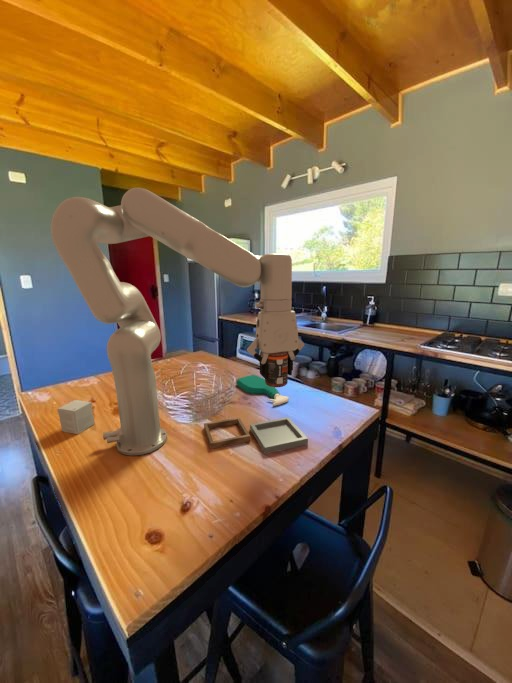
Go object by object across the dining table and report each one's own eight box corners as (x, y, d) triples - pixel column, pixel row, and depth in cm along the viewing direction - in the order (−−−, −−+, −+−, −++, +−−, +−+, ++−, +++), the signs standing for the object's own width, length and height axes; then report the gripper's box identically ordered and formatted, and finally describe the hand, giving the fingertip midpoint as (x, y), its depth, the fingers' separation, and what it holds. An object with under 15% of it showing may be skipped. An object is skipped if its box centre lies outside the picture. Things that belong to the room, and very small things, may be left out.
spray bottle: (256, 380, 122) (295, 402, 102) (233, 385, 116) (271, 410, 96) (256, 373, 121) (296, 394, 101) (233, 379, 115) (271, 402, 95)
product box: (95, 424, 87) (91, 401, 85) (77, 435, 81) (73, 411, 79) (79, 421, 89) (75, 399, 87) (61, 431, 83) (56, 408, 81)
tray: (264, 454, 72) (265, 447, 72) (250, 429, 83) (250, 424, 83) (307, 444, 76) (308, 438, 75) (288, 422, 87) (288, 417, 86)
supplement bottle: (286, 389, 72) (286, 345, 70) (263, 387, 74) (262, 344, 71) (288, 380, 78) (289, 339, 75) (267, 379, 79) (266, 338, 77)
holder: (210, 448, 74) (210, 443, 74) (204, 428, 84) (204, 423, 84) (250, 440, 78) (250, 435, 77) (239, 421, 87) (239, 417, 87)
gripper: (247, 310, 65) (249, 385, 69) (314, 305, 70) (313, 375, 75) (238, 306, 72) (240, 375, 76) (300, 302, 77) (299, 366, 81)
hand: (276, 374), depth 75 cm, fingers closed on supplement bottle, 6 cm apart
